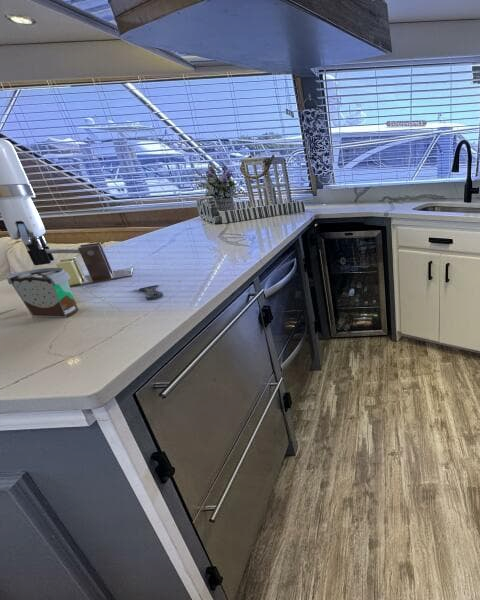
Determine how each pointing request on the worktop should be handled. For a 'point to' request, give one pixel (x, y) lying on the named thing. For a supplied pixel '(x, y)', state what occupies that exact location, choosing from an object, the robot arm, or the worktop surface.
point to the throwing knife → (151, 292)
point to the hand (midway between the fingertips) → (44, 262)
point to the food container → (45, 292)
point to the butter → (72, 269)
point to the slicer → (99, 266)
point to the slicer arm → (62, 250)
